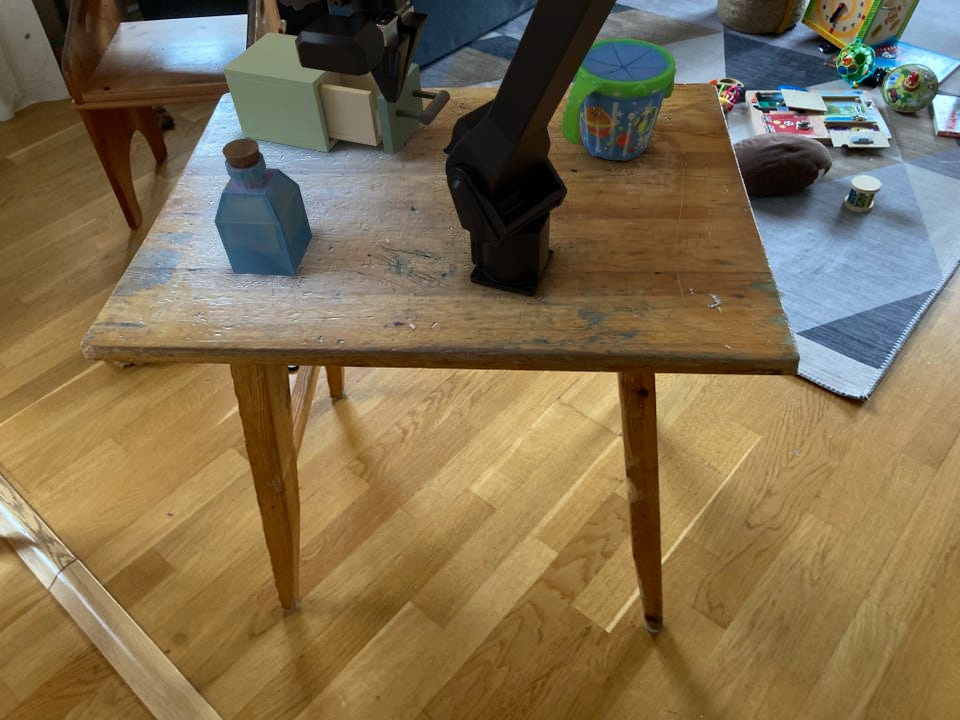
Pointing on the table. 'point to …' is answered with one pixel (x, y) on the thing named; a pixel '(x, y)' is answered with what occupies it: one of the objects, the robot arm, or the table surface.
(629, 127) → the snack cup
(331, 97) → the drawer
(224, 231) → the perfume bottle
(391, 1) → the robot arm
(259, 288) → the table surface
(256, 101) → the cabinet
